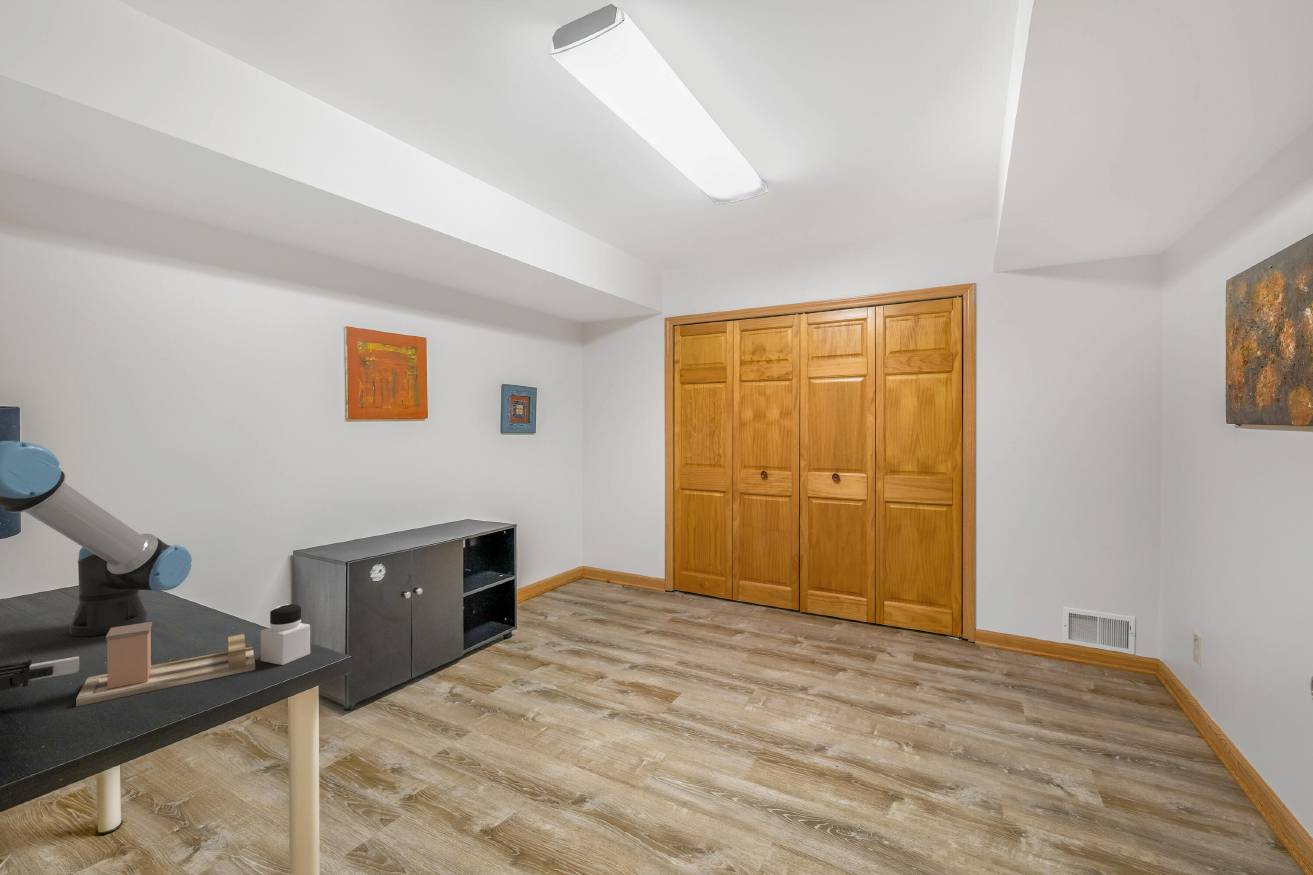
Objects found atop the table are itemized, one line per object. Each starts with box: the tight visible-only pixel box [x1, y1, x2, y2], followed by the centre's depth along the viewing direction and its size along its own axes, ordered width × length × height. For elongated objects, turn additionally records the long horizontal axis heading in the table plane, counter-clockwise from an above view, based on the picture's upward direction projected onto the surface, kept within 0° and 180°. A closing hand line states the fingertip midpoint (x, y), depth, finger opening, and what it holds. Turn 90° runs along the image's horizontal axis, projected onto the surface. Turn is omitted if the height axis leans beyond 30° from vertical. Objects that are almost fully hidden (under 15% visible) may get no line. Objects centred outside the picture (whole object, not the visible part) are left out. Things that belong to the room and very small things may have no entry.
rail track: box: [75, 633, 256, 707], centre depth 122 cm, size 12×28×5 cm, turn 127°
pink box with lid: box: [105, 621, 153, 689], centre depth 118 cm, size 6×6×11 cm
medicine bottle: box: [260, 603, 311, 666], centre depth 132 cm, size 7×7×12 cm
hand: (78, 664), depth 113 cm, fingers closed
